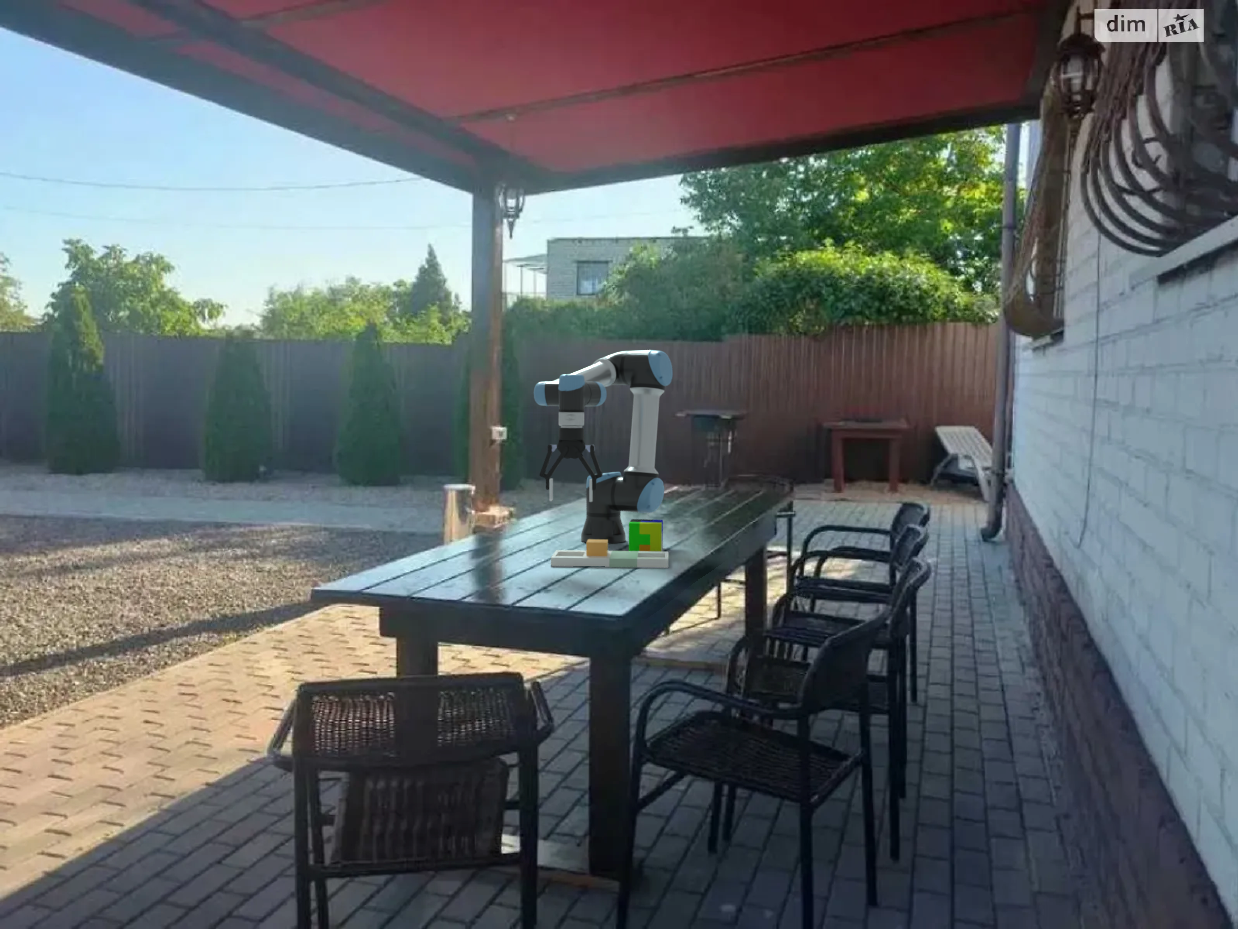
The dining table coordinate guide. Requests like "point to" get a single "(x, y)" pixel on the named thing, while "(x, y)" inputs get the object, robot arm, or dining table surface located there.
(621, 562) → the plate
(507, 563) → the dining table surface
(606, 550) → the orange block
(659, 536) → the puzzle toy
